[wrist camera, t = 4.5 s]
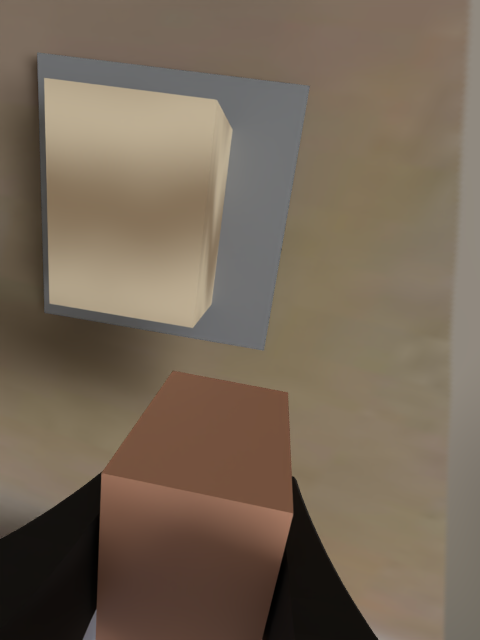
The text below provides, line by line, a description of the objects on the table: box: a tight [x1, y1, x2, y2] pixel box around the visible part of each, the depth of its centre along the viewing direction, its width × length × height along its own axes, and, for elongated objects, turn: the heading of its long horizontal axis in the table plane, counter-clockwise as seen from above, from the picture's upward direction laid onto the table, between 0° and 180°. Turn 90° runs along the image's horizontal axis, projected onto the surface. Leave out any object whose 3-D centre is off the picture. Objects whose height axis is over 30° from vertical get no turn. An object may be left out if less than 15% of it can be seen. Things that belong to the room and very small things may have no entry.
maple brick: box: [44, 78, 233, 328], centre depth 15 cm, size 8×6×4 cm
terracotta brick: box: [96, 371, 293, 640], centre depth 10 cm, size 6×4×5 cm, turn 171°
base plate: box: [37, 53, 310, 350], centre depth 17 cm, size 12×12×1 cm
